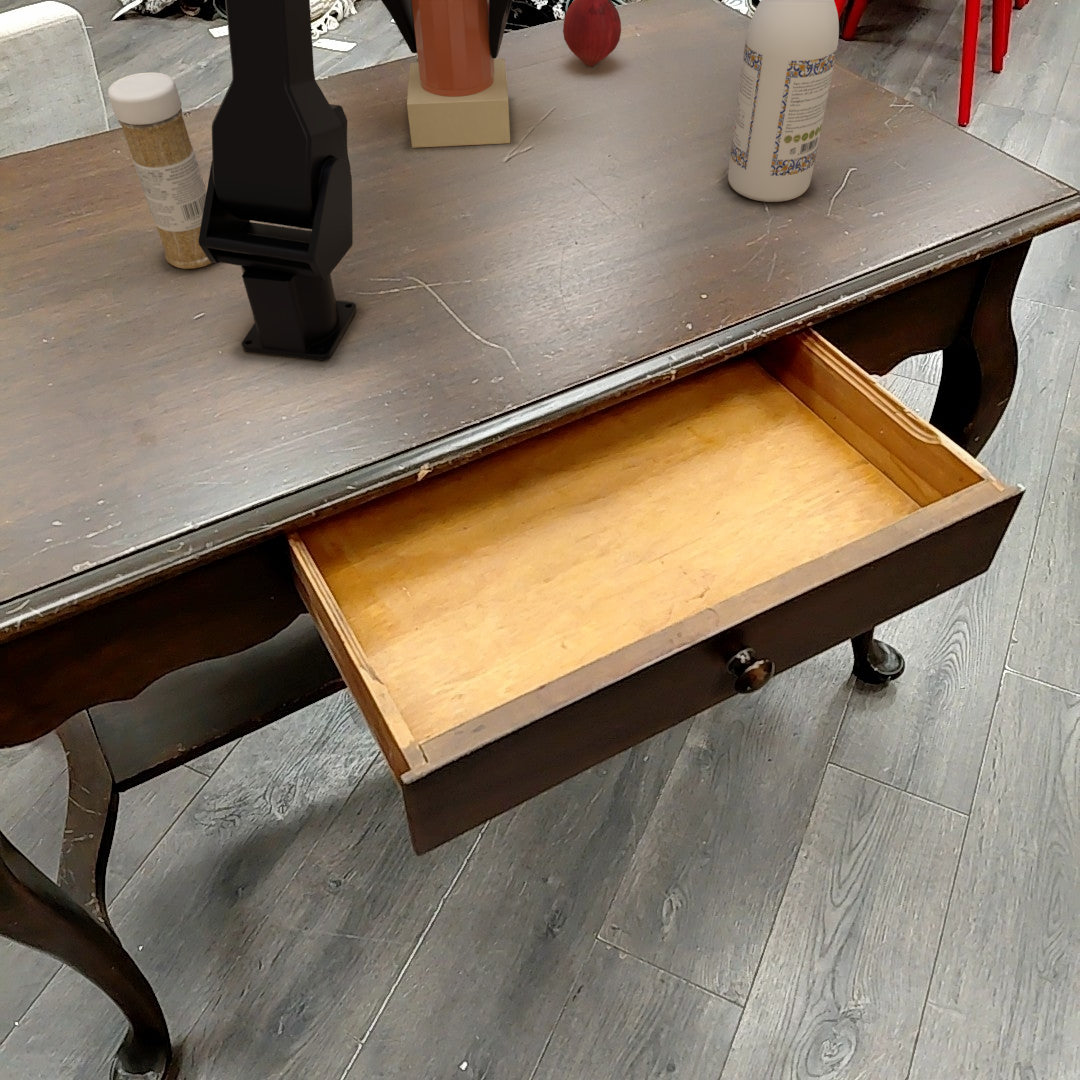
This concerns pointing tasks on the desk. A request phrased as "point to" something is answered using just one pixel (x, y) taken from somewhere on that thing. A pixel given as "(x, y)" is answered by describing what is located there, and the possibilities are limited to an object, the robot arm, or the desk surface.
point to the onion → (592, 29)
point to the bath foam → (782, 97)
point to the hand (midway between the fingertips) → (455, 54)
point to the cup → (453, 46)
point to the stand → (459, 114)
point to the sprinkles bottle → (163, 162)
